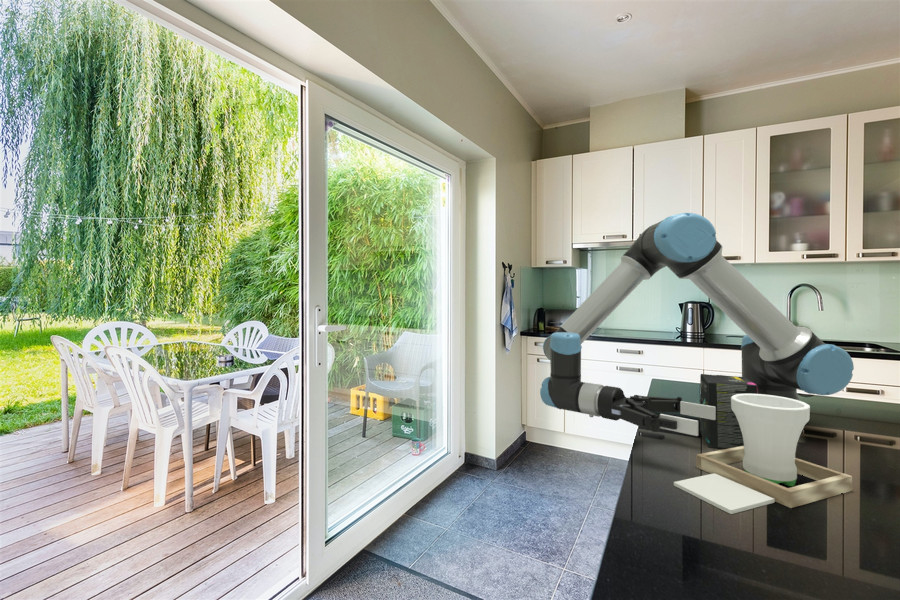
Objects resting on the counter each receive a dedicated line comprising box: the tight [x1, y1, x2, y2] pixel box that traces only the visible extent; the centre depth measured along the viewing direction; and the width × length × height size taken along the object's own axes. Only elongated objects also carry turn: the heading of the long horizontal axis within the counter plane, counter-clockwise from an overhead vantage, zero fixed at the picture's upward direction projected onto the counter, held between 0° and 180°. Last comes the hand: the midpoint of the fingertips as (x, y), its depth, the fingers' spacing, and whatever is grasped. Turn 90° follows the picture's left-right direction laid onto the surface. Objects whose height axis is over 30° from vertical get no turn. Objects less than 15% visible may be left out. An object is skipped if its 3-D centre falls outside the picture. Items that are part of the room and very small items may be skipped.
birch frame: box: [695, 446, 853, 509], centre depth 72 cm, size 16×16×2 cm
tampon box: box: [699, 373, 758, 450], centre depth 90 cm, size 11×9×15 cm
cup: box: [731, 394, 811, 487], centre depth 72 cm, size 11×11×14 cm
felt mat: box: [673, 473, 775, 515], centre depth 67 cm, size 10×10×1 cm
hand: (707, 420), depth 79 cm, fingers open, 13 cm apart
